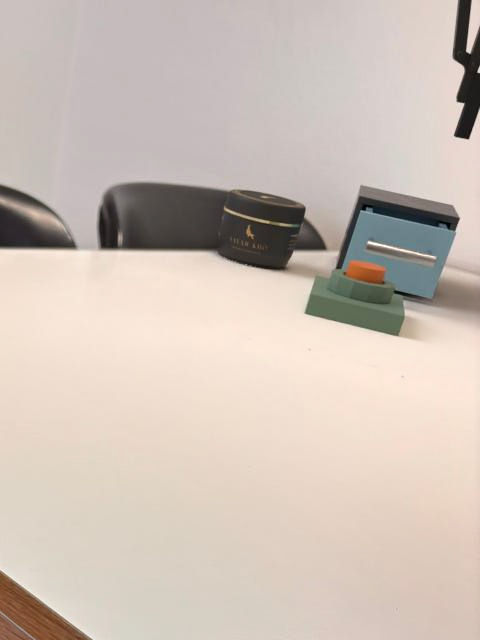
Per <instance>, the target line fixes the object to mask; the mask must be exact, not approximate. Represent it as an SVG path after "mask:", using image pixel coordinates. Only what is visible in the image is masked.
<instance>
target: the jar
mask: <svg viewBox="0 0 480 640" xmlns="http://www.w3.org/2000/svg"><path fill="white" fill-rule="evenodd" d="M306 211H307V207H306V205H304V204H303V203H301V202H299V201H297V200H294V199H290V198H288V197H284V196H280V195H276V194H272V193H267V192H262V191H257V190H250V189H242V188H241V189H239V188H238V189H237V188H235V189H231V190H230V191H229V192H228V194H227V197H226V200H225V204H224V205H223V213H222V217H221V220H220V223H219V224H220V226H219V228H218V232H217V235H216V251H217V252H218V255H219V254H220V255H221V256H220V255H219V256H220V257H222V258H224V257H225V258H224V259H226V258H227V259H226V260H229V259H230V260H229V261H231V260H233V261H232V262H234V261H236V262H235V263H237V262H239V263H238V264H241V263H243V264H242V265H245V264H247V265H246V266H249V265H252V266H251V267H254V266H256V267H255V268H259V267H260V268H259V269H266V268H267V270H281V269H283V268H284V267H286V266H287V265H288V263H289V262H290V260H291V258H292V257H293V254H294V251H295V248H296V245H297V241H298V237H299V235H300V231H301V228H302V227H303V224H304V219H305V215H306Z"/></svg>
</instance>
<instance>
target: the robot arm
mask: <svg viewBox="0 0 480 640" xmlns="http://www.w3.org/2000/svg"><path fill="white" fill-rule="evenodd" d="M472 3H473V0H457V6H456V7H457V8H456V15H455V26H454V35H453V43H452V44H453V45H452V53H451V54H452V55H451V58H452V60H453V61H455V62H456V63H458V64H460V65H461V66H462V67H463V69H464V70H463V71H464V72H463V75H462V77H461V81H460V85H459V87H458V90H457V93H456V95H455V96H456V98H455V99H456V103H460V104H463V106H462V110H461V113H460V115H459V118H458V121H457V124H456V127H455V130H454V133H453V137H455V138H457V139H462V140H463V139H464V140H469V141H470V138H471V135H472V133H473V129H474V126H475V123H476V121H477V117H478V115H479V112H480V72H478V71H479V69H480V25H479V26H478V30H477V31H476V35H475V38H474V41H473V44H472V47H471V50H470V52H468V51H467V48H468V38H469V31H470V20H471V12H472Z"/></svg>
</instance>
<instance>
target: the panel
mask: <svg viewBox="0 0 480 640" xmlns="http://www.w3.org/2000/svg"><path fill="white" fill-rule="evenodd" d="M346 272H347V270H345V269H335V268H333V269H332V271H331V273H330V277H326V276H321V275H318V274H317V275H315V278H314V280H313V284H312V286H311V290H310V293H309V296H308V300H307V303H306V307H305V310H304V314H305V315H309V316H312V317H317V318H322V319H324V320H329V321H333V322H338V323H340V324H341V323H342V324H346V325H349V326H354V327H358V328H362V329H366V330H370V331H375V332H379V333H383V334H386V335H391V336H395V337H399V335H400V332H401V329H402V326H403V323H404V320H405V317H406V314H405V305H404V298H403V297H404V296H403V295H401V294H399V293H398V294H397V293H395V291H396V290H395V284H394V283H392V282H390V281H388V280H386V279H383V282H382V284H374V283H368V282H363V281H359V280H356V279H353V278H350V277H347V276H346Z"/></svg>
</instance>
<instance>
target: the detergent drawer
mask: <svg viewBox="0 0 480 640" xmlns="http://www.w3.org/2000/svg"><path fill="white" fill-rule="evenodd" d="M456 235H457V230H456V231H451V230H448V228H447V226H446V224H445V222H444V221H439V220H435V219H430V218H426V217H421V216H417V215H412V214H408V213H403V212H399V211H394V210H390V209H385V208H381V207H376V206H372V205H367V204H366V207H365V210H364V211H362V210H361V211H360V214H359V218H358V221H357V224H356V227H355V230H354V233H353V236H352V239H351V242H350V245H349V248H348V251H347V254H346V258H345V261H344V264H343V267H342V269H345V270H347V268H348V265H349V262H350V261H352V260H356V261H363V262H368V263H372V264H376V265H379V266H381V267H384V268H385V269H386V273H385V276H384V279H386V280H388V281H390V282H392V283H394V284H395V290H394V291H397V292H402V293H406V294H411V295H415V296H418V297H422V298H426V299H431V300H432V299H433V297H434V294H435V293H436V289H437V286H438V284H439V282H440V278H441V275H442V273H443V270H444V267H445V265H446V262H447V260H448V257H449V255H450V252H451V250H452V246H453V244H454V241H455V238H456Z"/></svg>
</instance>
